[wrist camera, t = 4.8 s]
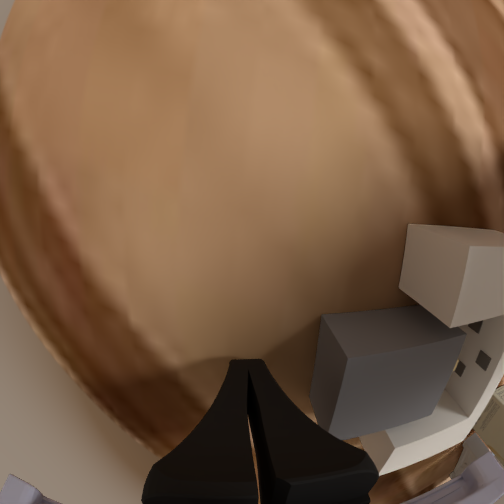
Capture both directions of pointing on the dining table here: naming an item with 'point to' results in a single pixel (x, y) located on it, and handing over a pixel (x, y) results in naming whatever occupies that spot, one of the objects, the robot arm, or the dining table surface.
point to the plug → (381, 368)
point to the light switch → (469, 454)
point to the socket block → (453, 315)
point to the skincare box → (493, 424)
